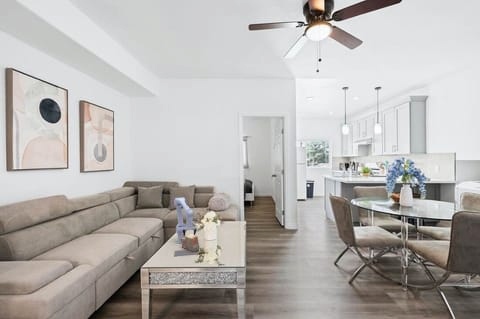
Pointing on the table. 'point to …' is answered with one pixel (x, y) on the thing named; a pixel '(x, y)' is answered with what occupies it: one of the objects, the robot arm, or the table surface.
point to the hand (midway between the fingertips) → (189, 237)
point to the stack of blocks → (190, 242)
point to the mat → (185, 252)
